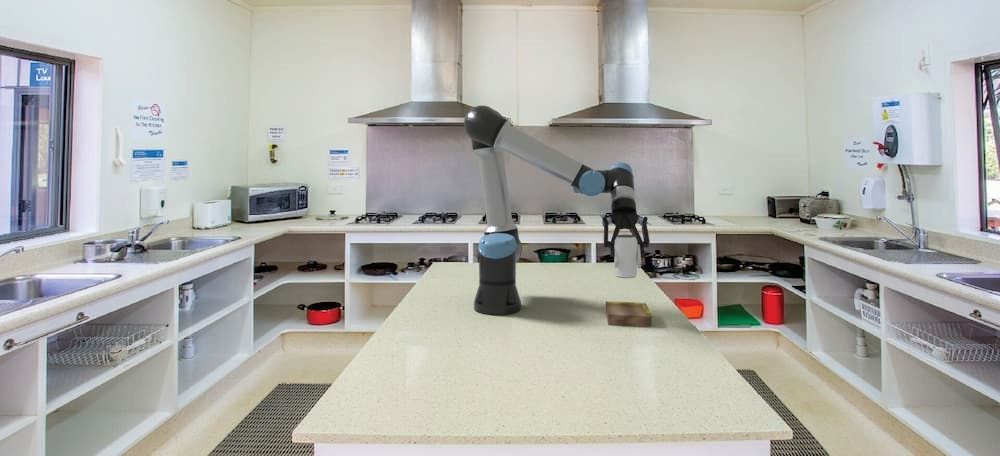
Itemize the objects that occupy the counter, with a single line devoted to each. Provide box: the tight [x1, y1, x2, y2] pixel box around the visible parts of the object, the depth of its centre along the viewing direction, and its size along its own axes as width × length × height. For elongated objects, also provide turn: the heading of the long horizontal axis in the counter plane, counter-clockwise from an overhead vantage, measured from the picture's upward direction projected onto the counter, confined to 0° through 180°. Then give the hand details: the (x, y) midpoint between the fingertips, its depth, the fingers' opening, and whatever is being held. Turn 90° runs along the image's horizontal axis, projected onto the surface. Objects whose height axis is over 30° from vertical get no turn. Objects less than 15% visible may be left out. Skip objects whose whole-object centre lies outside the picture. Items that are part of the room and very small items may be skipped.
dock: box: [605, 301, 653, 328], centre depth 148 cm, size 12×12×4 cm
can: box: [613, 233, 638, 279], centre depth 146 cm, size 6×6×12 cm
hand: (628, 265), depth 142 cm, fingers closed on can, 6 cm apart
